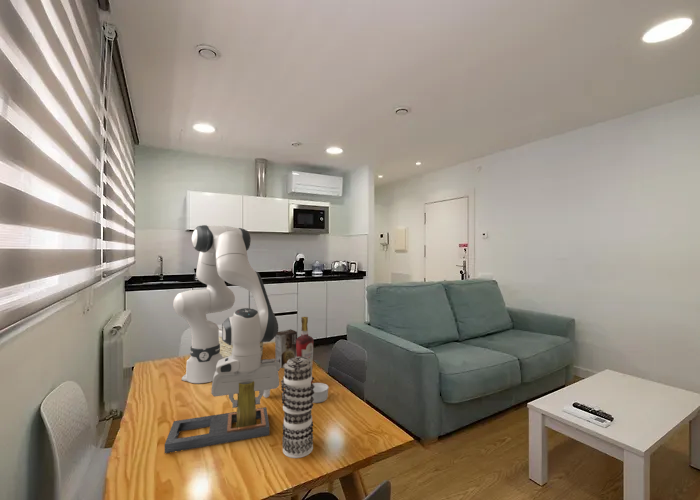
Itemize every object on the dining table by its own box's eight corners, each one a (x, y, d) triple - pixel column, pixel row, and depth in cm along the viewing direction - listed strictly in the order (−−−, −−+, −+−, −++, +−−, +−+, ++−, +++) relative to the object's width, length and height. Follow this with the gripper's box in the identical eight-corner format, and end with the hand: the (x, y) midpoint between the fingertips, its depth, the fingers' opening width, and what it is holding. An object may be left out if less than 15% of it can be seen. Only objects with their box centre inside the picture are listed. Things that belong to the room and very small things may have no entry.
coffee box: (291, 360, 165) (291, 329, 165) (297, 364, 160) (297, 331, 160) (274, 364, 159) (274, 331, 159) (281, 368, 154) (281, 334, 154)
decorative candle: (283, 439, 95) (283, 354, 96) (315, 438, 96) (314, 353, 96) (278, 459, 86) (278, 365, 86) (313, 458, 87) (313, 364, 87)
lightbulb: (270, 401, 120) (270, 371, 120) (255, 400, 121) (255, 370, 121) (277, 394, 126) (277, 366, 126) (262, 393, 127) (262, 365, 127)
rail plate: (173, 429, 101) (173, 420, 101) (266, 414, 110) (266, 406, 110) (164, 453, 89) (164, 443, 89) (269, 435, 98) (269, 425, 98)
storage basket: (265, 357, 171) (265, 329, 171) (239, 365, 158) (239, 335, 158) (238, 349, 185) (238, 323, 186) (212, 356, 173) (212, 328, 173)
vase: (239, 432, 98) (239, 387, 97) (233, 423, 103) (233, 379, 102) (259, 426, 102) (259, 381, 101) (252, 416, 107) (252, 374, 106)
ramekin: (300, 398, 123) (300, 386, 123) (319, 391, 129) (319, 380, 129) (313, 406, 116) (313, 394, 116) (333, 399, 122) (333, 387, 122)
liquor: (305, 379, 140) (305, 314, 140) (317, 384, 135) (317, 317, 136) (292, 385, 135) (292, 317, 135) (303, 389, 130) (303, 319, 130)
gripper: (278, 354, 108) (278, 396, 108) (212, 361, 102) (212, 405, 102) (281, 361, 102) (281, 404, 102) (210, 368, 96) (210, 415, 96)
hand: (246, 405), depth 102 cm, fingers closed on vase, 5 cm apart
